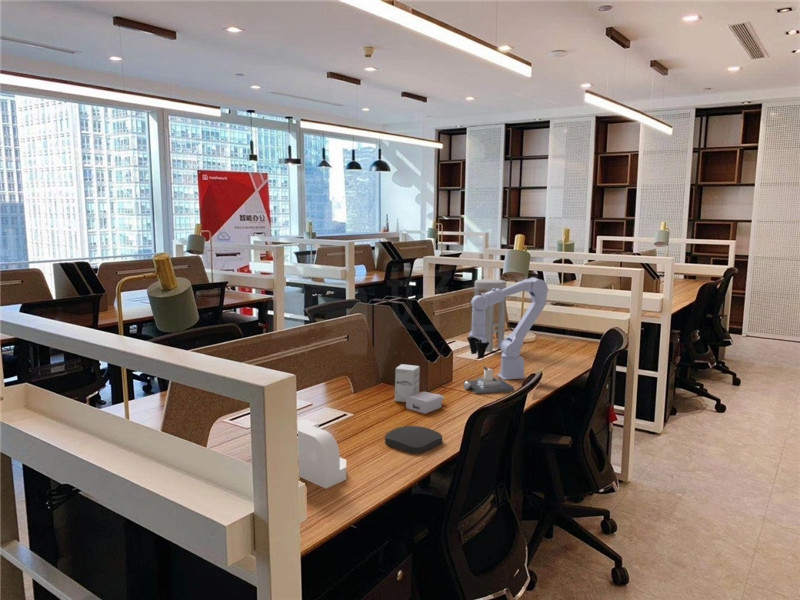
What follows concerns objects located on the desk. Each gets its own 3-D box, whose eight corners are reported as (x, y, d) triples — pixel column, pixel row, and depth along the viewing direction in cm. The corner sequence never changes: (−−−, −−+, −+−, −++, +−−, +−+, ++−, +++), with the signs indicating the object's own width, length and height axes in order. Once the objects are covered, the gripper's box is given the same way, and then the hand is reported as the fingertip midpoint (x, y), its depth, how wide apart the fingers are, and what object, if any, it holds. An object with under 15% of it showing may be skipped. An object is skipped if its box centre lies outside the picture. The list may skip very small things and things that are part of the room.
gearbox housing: (500, 382, 247) (500, 373, 246) (513, 391, 234) (514, 382, 234) (459, 384, 242) (459, 376, 242) (471, 394, 230) (471, 385, 229)
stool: (485, 343, 319) (488, 278, 314) (509, 348, 308) (512, 281, 303) (466, 347, 309) (468, 280, 304) (490, 353, 298) (492, 283, 293)
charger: (451, 404, 218) (426, 414, 206) (431, 399, 223) (405, 408, 212) (452, 392, 217) (426, 401, 205) (431, 387, 223) (406, 396, 211)
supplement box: (394, 401, 219) (394, 368, 217) (401, 395, 226) (401, 363, 224) (413, 404, 217) (413, 370, 215) (419, 398, 224) (420, 365, 222)
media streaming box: (417, 457, 171) (417, 447, 170) (379, 443, 180) (379, 434, 180) (447, 442, 182) (447, 433, 181) (410, 430, 191) (410, 421, 191)
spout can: (490, 386, 241) (491, 364, 239) (493, 388, 237) (494, 366, 236) (480, 386, 240) (481, 365, 238) (483, 389, 236) (484, 367, 235)
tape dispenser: (285, 470, 160) (284, 425, 158) (315, 458, 168) (314, 415, 166) (325, 489, 150) (325, 441, 148) (355, 475, 158) (355, 430, 156)
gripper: (463, 321, 255) (462, 352, 257) (476, 327, 242) (474, 360, 244) (478, 320, 257) (477, 351, 259) (492, 327, 243) (490, 359, 245)
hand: (477, 355), depth 252 cm, fingers open, 7 cm apart
